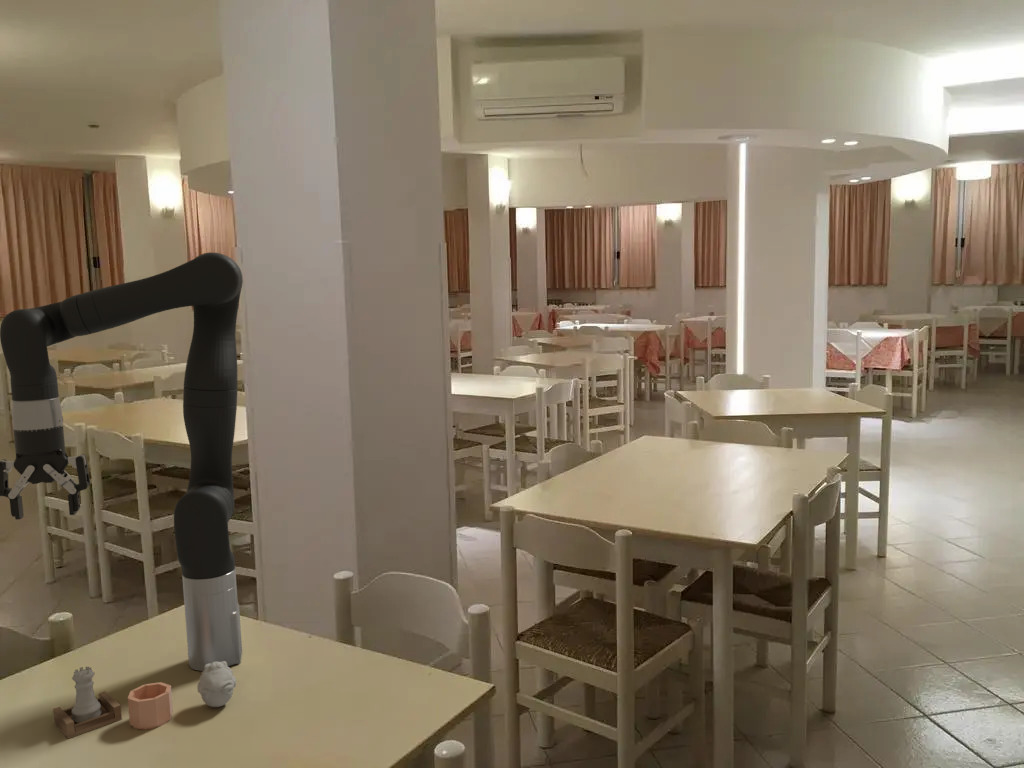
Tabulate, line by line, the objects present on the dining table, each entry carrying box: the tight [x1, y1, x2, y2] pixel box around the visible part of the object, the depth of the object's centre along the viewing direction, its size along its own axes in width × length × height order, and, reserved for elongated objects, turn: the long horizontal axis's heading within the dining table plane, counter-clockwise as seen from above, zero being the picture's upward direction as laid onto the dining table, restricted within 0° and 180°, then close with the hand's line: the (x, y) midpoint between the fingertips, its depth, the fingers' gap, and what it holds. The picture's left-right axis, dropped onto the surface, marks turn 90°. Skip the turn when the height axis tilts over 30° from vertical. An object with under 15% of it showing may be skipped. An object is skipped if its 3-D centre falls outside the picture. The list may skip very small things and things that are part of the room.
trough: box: [52, 691, 123, 739], centre depth 136 cm, size 7×8×2 cm
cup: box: [127, 681, 174, 730], centre depth 136 cm, size 6×6×5 cm
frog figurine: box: [197, 661, 237, 708], centre depth 140 cm, size 6×7×7 cm
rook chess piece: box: [71, 666, 102, 723], centre depth 136 cm, size 4×4×8 cm
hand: (46, 516), depth 148 cm, fingers open, 8 cm apart
